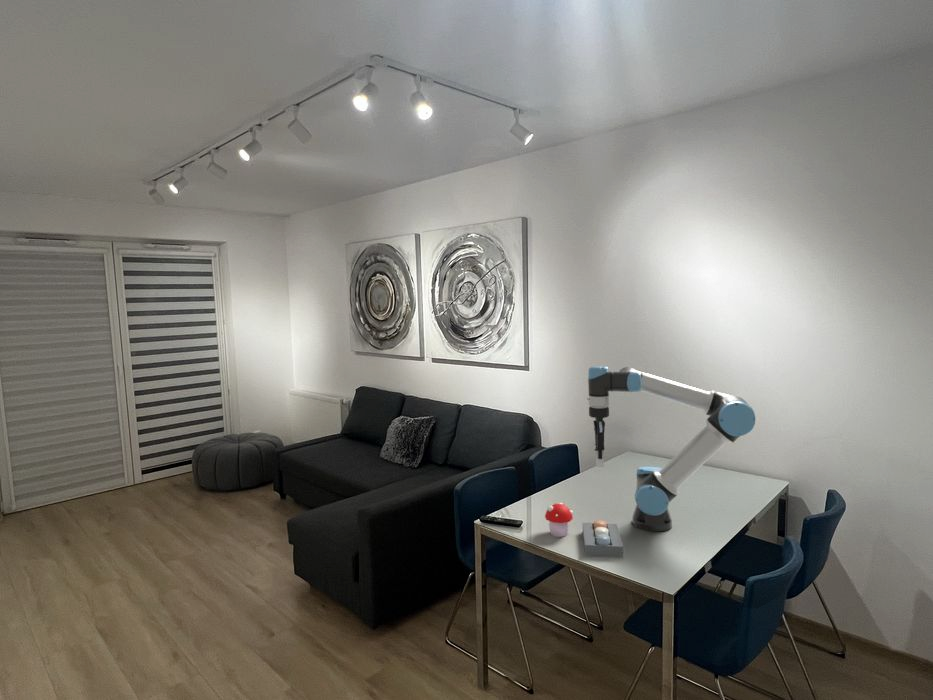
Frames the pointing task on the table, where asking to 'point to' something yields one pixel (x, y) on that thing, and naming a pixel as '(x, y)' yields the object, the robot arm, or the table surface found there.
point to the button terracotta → (600, 524)
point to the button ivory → (601, 531)
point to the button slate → (602, 539)
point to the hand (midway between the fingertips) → (599, 466)
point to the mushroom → (558, 519)
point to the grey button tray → (601, 550)
